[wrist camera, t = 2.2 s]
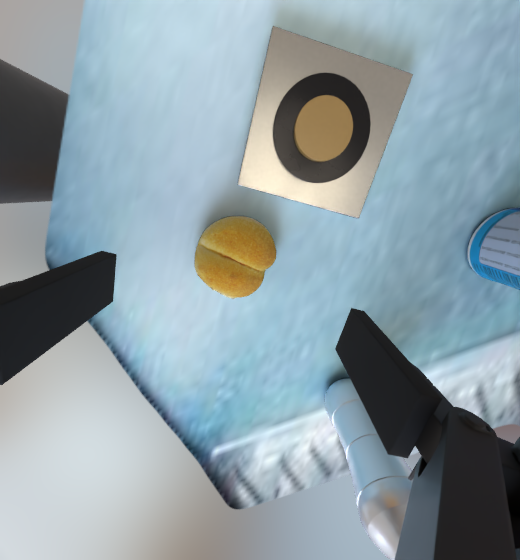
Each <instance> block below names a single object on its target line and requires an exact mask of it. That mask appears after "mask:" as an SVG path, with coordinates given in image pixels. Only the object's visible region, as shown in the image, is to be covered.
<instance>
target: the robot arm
mask: <svg viewBox="0 0 520 560" xmlns="http://www.w3.org/2000/svg"><path fill="white" fill-rule="evenodd" d="M115 267H116V254H113V253H108V252H104V251H100V252H97V253H95V254H92V255H89V256H87V257H84V258H81V259H79V260H76V261H73V262H71V263H68V264H65V265H63V266H60V267H57V268H55V269H52V270H49V271H47V272H44V273H41V274H39V275H36V276H33V277H31V278H28V279H25V280H23V281H18V282H12V283H8V284H6V285H3V286H0V385H3V384H4V383H5V382H7V381H8V380H9V379H11V378H12V377H13V376H15V375H16V374H17V373H18V372H20V371H21V370H22V369H24V368H25V367H26V366H28V365H29V364H30V363H32V362H33V361H34V360H36V359H37V358H38V357H40V356H41V355H42V354H44V353H45V352H46V351H48V350H49V349H50V348H51V347H53V346H54V345H56V344H57V343H58V342H60V341H61V340H62V339H64V338H65V337H66V336H68V335H69V334H70V333H72V332H73V331H74V330H76V329H77V328H78V327H80V326H81V325H82V324H83V323H85V322H86V321H87V320H89V319H90V318H91V317H93V316H94V315H95V314H97V313H98V312H99V311H101V310H102V309H103V308H105V307H106V306H107V305H109V304H110V303H111V302H113V294H114V280H115ZM336 351H337V353H338V355H339V357H340V359H341V361H342V363H343V365H344V367H345V369H346V371H347V373H348V375H349V377H350V379H351V381H352V383H353V385H354V387H355V389H356V391H357V393H358V395H359V397H360V399H361V401H362V403H363V405H364V407H365V409H366V411H367V413H368V415H369V417H370V419H371V422H372V424H373V426H374V428H375V430H376V432H377V434H378V436H379V438H380V440H381V442H382V444H383V446H384V448H385V450H386V452H387V454H388V455H393V456H398V457H404V458H408V457H409V455H410V453H411V452H412V450H413V448H414V447H415V446H416V447H417V449H418V451H419V452H420V454H421V455H422V456H421V458H420V459H419V461H418V462H417V464H416V466H415V467H414V469H413V471H412V472H411V474H410V476H409V477H408V479H409V480H410V481H411V480H412V479H413V482H412V487H411V491H410V495H409V500H408V504H407V508H406V513H405V517H404V521H403V526H402V530H401V534H400V539H399V543H398V547H397V552H396V556H395V560H520V437H519V439H518V440H517V441H516V443H515V444H513V443H510V442H508V441H506V440H503V439H501V438H498V437H497V436H496V433H495V431H494V430H493V429H492V428H491V427H490V426H489V425H488V424H487V423H486V422H485V421H483V420H482V419H481V418H479V417H478V416H476V415H475V414H473V413H471V412H469V411H467V410H465V409H462V408H458V407H453V406H452V405H451V403H450V402H449V401H448V400H447V399H446V398H445V397H444V396H443V395H442V394H441V393H440V391H439V390H438V389H437V388H436V387H435V386H433V384H432V383H431V382H430V381H429V379H427V377H426V376H425V375H424V374H423V373H422V372H421V371H420V370H419V369H418V368H417V367H416V366H414V365H413V364H412V363H410V362H409V361H408V360H407V359H406V357H405V356H404V355H403V354H402V353H401V352H400V351H399V350H398V348H397V347H396V346H395V345H394V344H393V343H392V342H391V341H390V340H389V338H388V337H387V336H386V335H385V334H384V333H383V332H382V331H381V330H380V328H379V327H378V326H377V325H376V324H375V323H374V322H373V321H372V319H371V318H370V317H369V316H368V315H367V314H366V313H365V312H364V311H361V310H357V309H353V308H351V310H350V313H349V316H348V318H347V321H346V323H345V326H344V328H343V331H342V333H341V336H340V338H339V341H338V343H337V346H336Z"/></svg>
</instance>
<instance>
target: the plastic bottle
mask: <svg viewBox="0 0 520 560" xmlns="http://www.w3.org/2000/svg"><path fill="white" fill-rule="evenodd" d="M325 408H326V412H327V414H328V417H329V419H330V421H331V423H332V424H333V426H334V428H335V429H336V432H337V434H338V436H339V439H340V441H341V443H342V446H343V448H344V451H345V455H346V458H347V461H348V465H349V469H350V472H351V476H352V481H353V486H354V491H355V496H356V502H357V507H358V512H359V516H360V520H361V523H362V525H363V527H364V529H365V531H366V532H367V534H368V536H369V538H370V539H371V540H372V541H373V543H374V544H375V545H376V546H377V547H378V548H379V549H380V550H381V552H382V553H383V554H384V555H385V556H386V557H387V558H389V559H390V560H395V556H396V552H397V547H398V543H399V539H400V534H401V530H402V526H403V521H404V517H405V513H406V508H407V504H408V500H409V495H410V491H411V487H412V482H413V479H412V480H411V481H410V480H409V479H408V477H409V476H410V474H411V472H412V470H411V468H410V467H409V466H408V464H407V463H406V461H405V459H404V458H403V457H398V456H393V455H388V454H387V452H386V450H385V448H384V446H383V444H382V442H381V440H380V438H379V436H378V434H377V432H376V430H375V428H374V426H373V424H372V422H371V419H370V417H369V415H368V413H367V411H366V409H365V407H364V405H363V403H362V401H361V399H360V397H359V395H358V393H357V391H356V389H355V387H354V385H353V383H352V381H351V379H341V380H338V381H336V382H334V383H333V384H332V385H331V386H330V387H329V388H328V390H327V392H326V394H325Z"/></svg>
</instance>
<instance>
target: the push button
mask: <svg viewBox="0 0 520 560" xmlns="http://www.w3.org/2000/svg"><path fill="white" fill-rule="evenodd" d="M412 76H413V74H411V73H408V72H405V71H402V70H399V69H396V68H393V67H390V66H388V65H385V64H382V63H379V62H376V61H373V60H370V59H367V58H364V57H362V56H359V55H356V54H353V53H350V52H347V51H344V50H341V49H338V48H336V47H333V46H330V45H327V44H324V43H321V42H318V41H315V40H312V39H310V38H307V37H304V36H301V35H298V34H295V33H292V32H289V31H286V30H284V29H281V28H278V27H275V26H273V27H272V32H271V36H270V41H269V45H268V50H267V54H266V59H265V63H264V68H263V72H262V77H261V81H260V86H259V90H258V95H257V99H256V104H255V108H254V113H253V117H252V121H251V126H250V130H249V135H248V139H247V144H246V148H245V153H244V157H243V162H242V166H241V171H240V175H239V180H238V185H240V186H244V187H248V188H251V189H255V190H258V191H262V192H265V193H269V194H273V195H276V196H280V197H283V198H287V199H290V200H294V201H297V202H301V203H305V204H308V205H312V206H315V207H319V208H322V209H326V210H330V211H333V212H337V213H340V214H344V215H347V216H351V217H355V218H359V216H360V213H361V211H362V208H363V205H364V203H365V200H366V197H367V195H368V192H369V189H370V187H371V184H372V181H373V179H374V176H375V174H376V171H377V168H378V166H379V163H380V160H381V158H382V155H383V152H384V150H385V147H386V144H387V142H388V139H389V137H390V134H391V131H392V129H393V126H394V123H395V121H396V118H397V115H398V113H399V110H400V107H401V105H402V102H403V100H404V97H405V94H406V92H407V89H408V86H409V84H410V81H411V78H412Z"/></svg>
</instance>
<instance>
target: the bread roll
mask: <svg viewBox="0 0 520 560" xmlns="http://www.w3.org/2000/svg"><path fill="white" fill-rule="evenodd" d="M275 259H276V248H275V244H274V241H273V238H272V237H271V235H270V233H269V232H268V230H267V229H266V228H265V226H264V225H263V224H261V223H260V222H258V221H257V220H255V219H252V218H250V217H244V216H230V217H226V218H222V219H220V220H218V221H216V222H214V223H213V224H211V225H210V226H209V227H208V228H207V229H206V230H205V231H204V232H203V234H202V235H201V237H200V240H199V243H198V245H197V248H196V252H195V270H196V272H197V274H198V276H199V277H200V278H201V279H202V280H203V281H204V282H205V283H206V284H207V285H208V286H209V287H210V288H211V289H212V290H215V291H217V292H218V293H220V294H222V295H224V296H226V297H228V298H232V299H235V298H237V297H245V296H248V295H250V294H252V293H253V292H254V291H256V290H257V289H258V288H259V286H260V285H261V283H262V281H263V278H264V272H265V270H266V269H268V268H269V267H270V266H271V265H272V264H273V263H274V261H275Z"/></svg>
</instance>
